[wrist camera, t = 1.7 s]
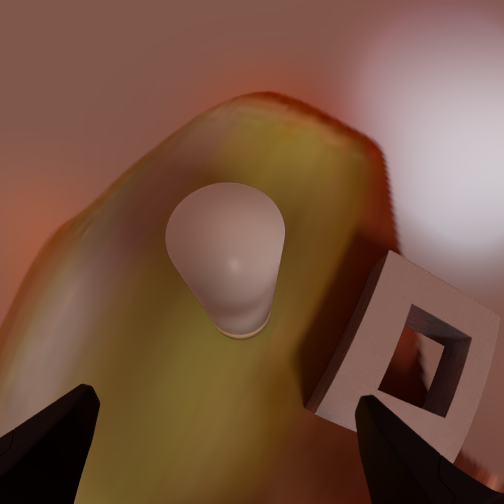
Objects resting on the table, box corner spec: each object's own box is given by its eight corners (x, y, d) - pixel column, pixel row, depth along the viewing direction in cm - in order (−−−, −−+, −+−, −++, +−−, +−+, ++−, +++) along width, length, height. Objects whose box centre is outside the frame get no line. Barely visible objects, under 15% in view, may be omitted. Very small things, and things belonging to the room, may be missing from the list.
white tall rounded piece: (251, 350, 21) (245, 314, 9) (200, 320, 22) (140, 250, 10) (280, 300, 22) (306, 210, 11) (230, 272, 23) (208, 166, 12)
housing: (426, 455, 16) (452, 463, 12) (304, 407, 19) (314, 413, 15) (473, 328, 20) (500, 317, 17) (371, 269, 23) (389, 249, 19)
